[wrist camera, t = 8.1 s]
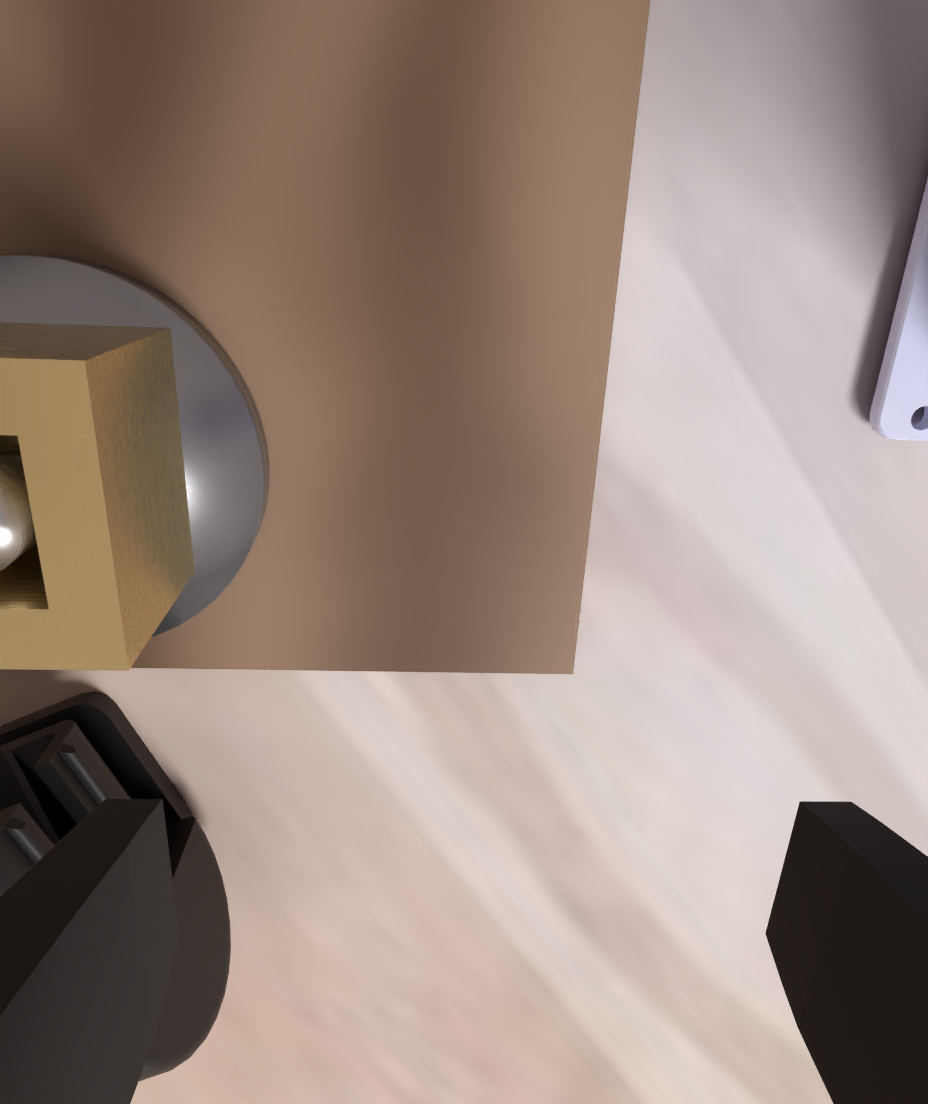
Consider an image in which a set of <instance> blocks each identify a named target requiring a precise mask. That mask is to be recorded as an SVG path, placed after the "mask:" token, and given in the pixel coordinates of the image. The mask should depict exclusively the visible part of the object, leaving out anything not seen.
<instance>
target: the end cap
mask: <svg viewBox="0 0 928 1104" xmlns="http://www.w3.org/2000/svg"><path fill="white" fill-rule="evenodd" d="M105 799H163V807H164V815H165V823H166V831H167V839H168V847H169V855H170V863H171V871H172V879H173V887H174V895H175V903H176V911H177V919H178V927H179V935H180V939H179V943H178V947H177V951H176V955H175V959H174V963H173V967H172V971H171V975H170V979H169V984H168V988H167V992H166V995H165V999H164V1003H163V1007H162V1010H161V1014H160V1018H159V1022H158V1026H157V1029H156V1033H155V1037H154V1039H153V1042H152V1045H151V1048H150V1051H149V1053H148V1056H147V1059H146V1062H145V1065H144V1067H143V1070H142V1073H141V1075H140V1078H139V1081H141V1080H144V1079H147V1078H150V1077H153V1076H156V1075H159V1074H162V1073H165V1072H168V1071H170V1070H172V1069H174V1068H175V1067H177V1066H178V1065H180V1064H181V1063H183V1062H184V1061H186V1060H187V1059H188V1058H190V1057H191V1056H192V1055H193V1053H194V1052H195V1051H196V1050H197V1049H198V1047H199V1046H200V1045H201V1044H202V1043H203V1041H204V1040H205V1039H206V1037H207V1036H208V1034H209V1032H210V1030H211V1028H212V1026H213V1024H214V1022H215V1020H216V1018H217V1016H218V1013H219V1010H220V1007H221V1004H222V1001H223V998H224V995H225V990H226V984H227V979H228V974H229V964H230V951H231V939H230V919H229V911H228V903H227V897H226V893H225V888H224V884H223V880H222V876H221V873H220V870H219V867H218V864H217V861H216V858H215V855H214V852H213V850H212V848H211V846H210V844H209V842H208V839H207V837H206V835H205V833H204V832H203V830H202V828H201V827H200V825H199V823H198V822H197V820H196V819H195V817H193V816H192V815H191V813H190V811H189V809H188V807H187V805H186V803H185V801H184V799H183V798H182V796H181V795H180V794H179V792H178V791H177V789H176V788H175V786H174V785H173V784H172V782H171V781H170V779H169V778H168V776H167V775H166V774H165V772H164V771H163V769H162V768H161V767H160V765H159V764H158V762H157V761H156V759H155V758H154V757H153V755H152V754H151V752H150V751H149V749H148V748H147V747H146V745H145V744H144V742H143V741H142V739H141V738H140V737H139V735H138V734H137V732H136V731H135V730H134V728H133V727H132V725H131V724H130V722H129V721H128V720H127V718H126V717H125V715H124V714H123V712H122V711H121V710H120V708H119V707H118V705H117V704H116V703H115V702H114V701H113V700H111V699H110V698H109V697H108V696H106V695H103V694H100V693H97V692H91V693H83V694H80V695H78V696H75V697H73V698H70V699H68V700H65V701H63V702H60V703H58V704H55V705H53V706H50V707H48V708H45V709H43V710H40V711H38V712H35V713H33V714H30V715H28V716H25V717H23V718H20V719H18V720H15V721H13V722H10V723H8V724H5V725H3V726H0V896H1V895H2V894H3V893H4V892H5V891H6V890H8V889H9V888H10V887H11V886H12V885H13V884H14V883H15V882H16V881H17V880H18V879H19V878H21V877H22V876H23V875H24V874H25V873H26V872H27V871H28V870H29V869H30V868H31V867H32V866H33V865H34V864H36V863H37V862H38V861H39V860H40V859H41V858H42V857H43V856H44V855H45V854H46V853H47V852H48V851H49V850H51V849H52V848H53V847H54V846H55V845H56V844H57V843H58V842H59V841H60V840H61V839H62V838H63V837H64V836H66V835H67V834H68V833H69V832H70V831H71V830H72V829H73V828H74V827H75V826H76V825H77V824H78V823H80V822H81V821H82V820H83V819H84V818H85V817H86V816H87V815H88V814H90V813H91V812H92V811H93V810H94V809H95V808H96V807H97V806H99V805H100V804H101V803H102V802H103V801H104V800H105Z"/></svg>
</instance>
